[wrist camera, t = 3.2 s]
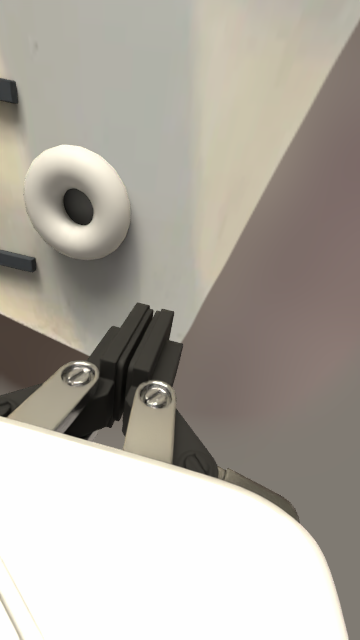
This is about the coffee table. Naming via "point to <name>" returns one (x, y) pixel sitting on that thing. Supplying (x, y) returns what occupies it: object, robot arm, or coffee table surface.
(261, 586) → the robot arm
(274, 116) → the coffee table surface
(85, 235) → the donut
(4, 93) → the frame
